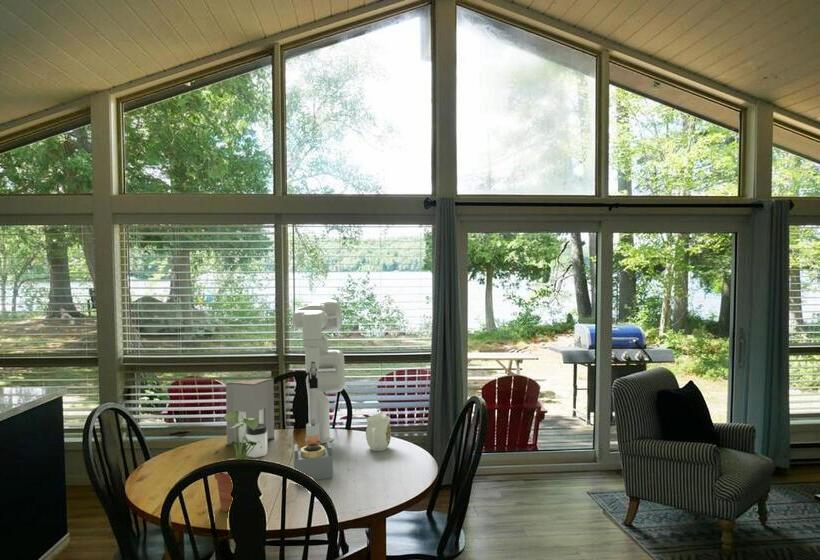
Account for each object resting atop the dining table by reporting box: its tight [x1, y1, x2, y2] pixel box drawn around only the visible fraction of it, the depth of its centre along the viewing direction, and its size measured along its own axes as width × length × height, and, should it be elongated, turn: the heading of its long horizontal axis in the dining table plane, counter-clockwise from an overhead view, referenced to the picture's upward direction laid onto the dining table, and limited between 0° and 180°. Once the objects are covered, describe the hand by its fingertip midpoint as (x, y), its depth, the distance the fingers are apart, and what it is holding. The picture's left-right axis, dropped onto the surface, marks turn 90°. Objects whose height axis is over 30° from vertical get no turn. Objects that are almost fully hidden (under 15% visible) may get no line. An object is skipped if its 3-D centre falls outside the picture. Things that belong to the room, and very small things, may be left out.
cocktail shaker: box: [305, 418, 321, 452], centre depth 196 cm, size 5×5×13 cm
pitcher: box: [365, 412, 392, 452], centre depth 224 cm, size 11×18×14 cm, turn 169°
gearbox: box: [293, 441, 334, 481], centre depth 196 cm, size 10×14×11 cm
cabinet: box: [225, 378, 275, 447], centre depth 234 cm, size 21×10×28 cm, turn 114°
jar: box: [245, 424, 268, 459], centre depth 220 cm, size 9×8×12 cm
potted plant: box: [214, 412, 261, 512], centre depth 171 cm, size 16×15×35 cm
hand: (313, 385), depth 207 cm, fingers open, 9 cm apart
